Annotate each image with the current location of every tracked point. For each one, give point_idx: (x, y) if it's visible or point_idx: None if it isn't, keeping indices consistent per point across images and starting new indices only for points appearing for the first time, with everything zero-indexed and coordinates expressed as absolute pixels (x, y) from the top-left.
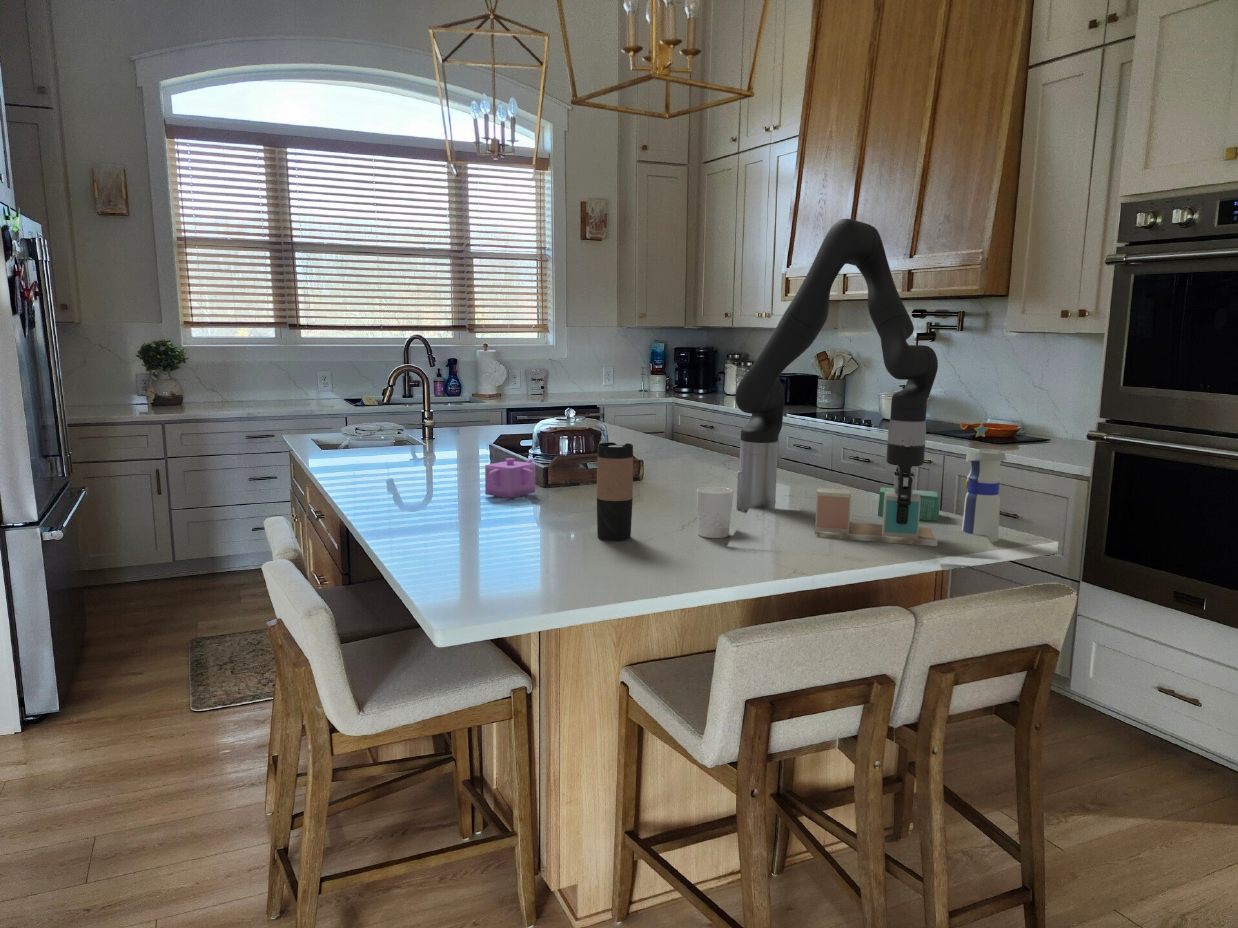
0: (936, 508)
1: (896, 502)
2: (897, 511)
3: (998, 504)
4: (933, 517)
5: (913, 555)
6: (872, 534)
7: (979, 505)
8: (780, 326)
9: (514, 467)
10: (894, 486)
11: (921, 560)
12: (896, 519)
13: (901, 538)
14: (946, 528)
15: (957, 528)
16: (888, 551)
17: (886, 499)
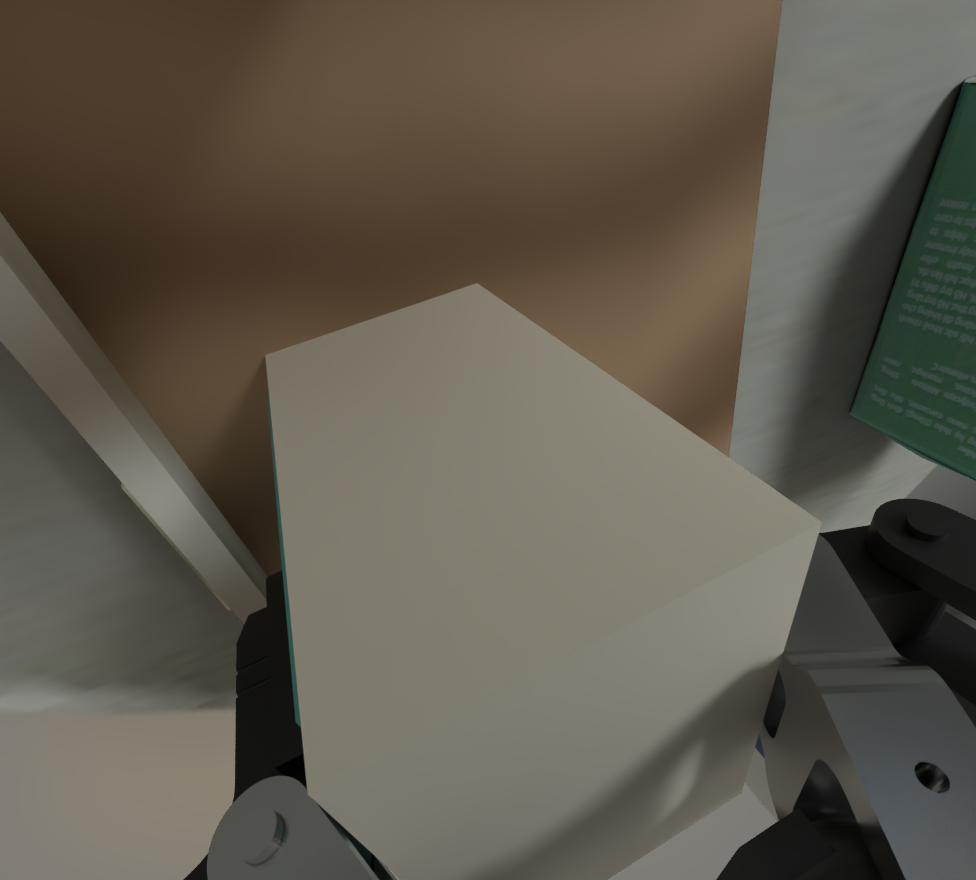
0: (948, 459)
1: (244, 849)
2: (275, 692)
3: None
4: (897, 425)
5: (112, 603)
6: (343, 222)
7: (759, 774)
8: None
9: None
10: (859, 780)
11: (8, 686)
12: (274, 597)
13: (190, 558)
14: (820, 459)
15: (823, 488)
16: (59, 449)
17: (308, 719)
